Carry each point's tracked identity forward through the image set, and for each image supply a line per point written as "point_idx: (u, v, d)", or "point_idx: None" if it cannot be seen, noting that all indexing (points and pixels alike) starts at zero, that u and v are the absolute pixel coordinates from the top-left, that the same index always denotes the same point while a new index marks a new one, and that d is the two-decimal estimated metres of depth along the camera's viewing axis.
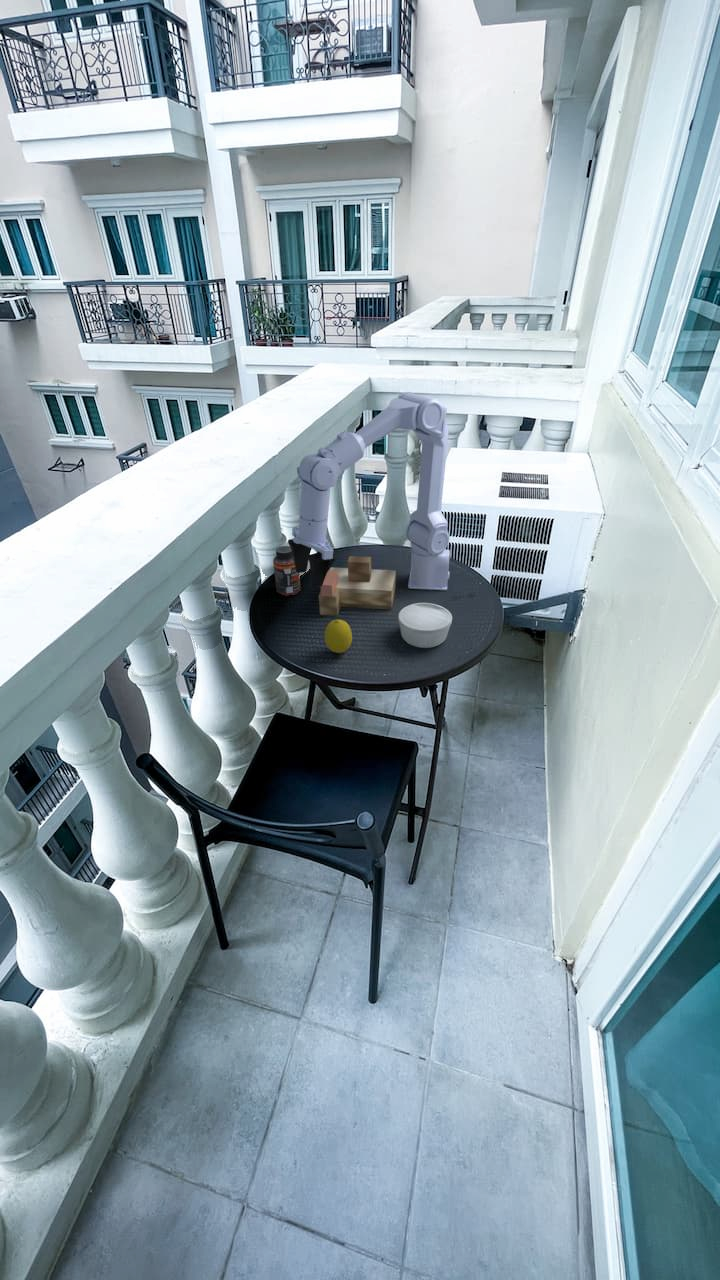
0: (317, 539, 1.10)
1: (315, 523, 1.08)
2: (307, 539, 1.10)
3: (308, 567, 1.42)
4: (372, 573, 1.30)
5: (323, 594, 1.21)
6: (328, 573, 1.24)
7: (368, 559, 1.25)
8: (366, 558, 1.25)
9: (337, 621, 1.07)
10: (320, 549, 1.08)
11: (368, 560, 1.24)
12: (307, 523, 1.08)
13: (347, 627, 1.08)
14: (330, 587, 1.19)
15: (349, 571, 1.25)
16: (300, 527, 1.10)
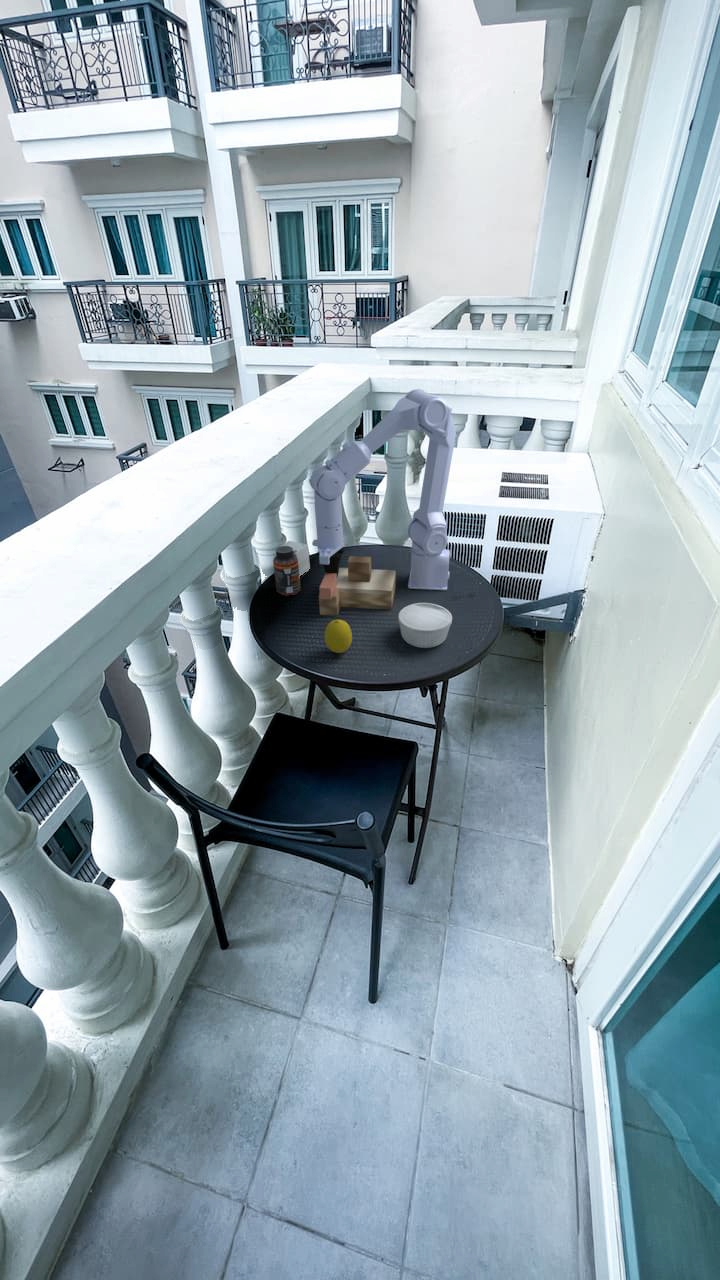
0: (326, 544, 1.18)
1: (322, 529, 1.16)
2: (319, 542, 1.19)
3: (308, 567, 1.42)
4: (372, 573, 1.30)
5: (322, 597, 1.20)
6: (327, 576, 1.23)
7: (368, 559, 1.25)
8: (366, 558, 1.25)
9: (337, 621, 1.07)
10: (319, 554, 1.16)
11: (368, 560, 1.24)
12: (317, 528, 1.18)
13: (347, 627, 1.08)
14: (329, 590, 1.18)
15: (349, 571, 1.25)
16: None
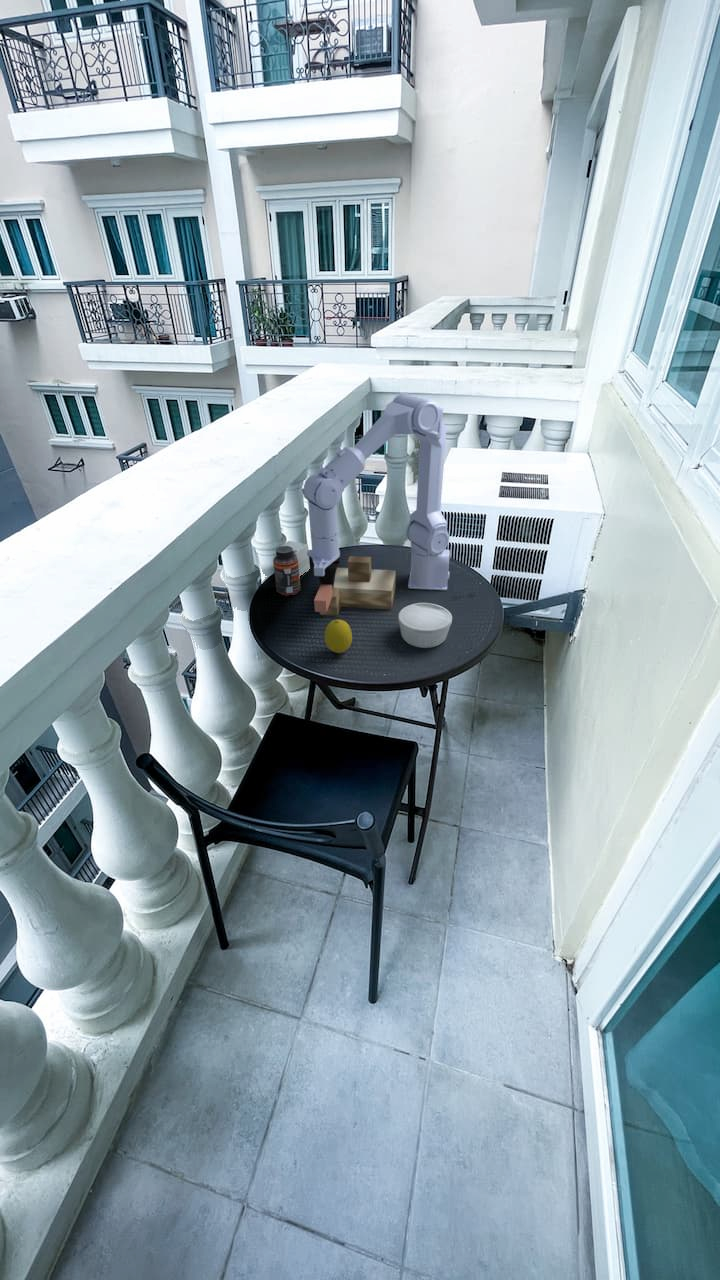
0: (321, 555, 1.14)
1: (317, 540, 1.12)
2: (313, 553, 1.15)
3: (308, 567, 1.42)
4: (372, 573, 1.30)
5: (317, 610, 1.15)
6: (322, 587, 1.18)
7: (368, 559, 1.25)
8: (366, 558, 1.25)
9: (337, 621, 1.07)
10: (314, 565, 1.12)
11: (368, 560, 1.24)
12: (312, 539, 1.13)
13: (347, 627, 1.08)
14: (324, 602, 1.14)
15: (349, 571, 1.25)
16: None
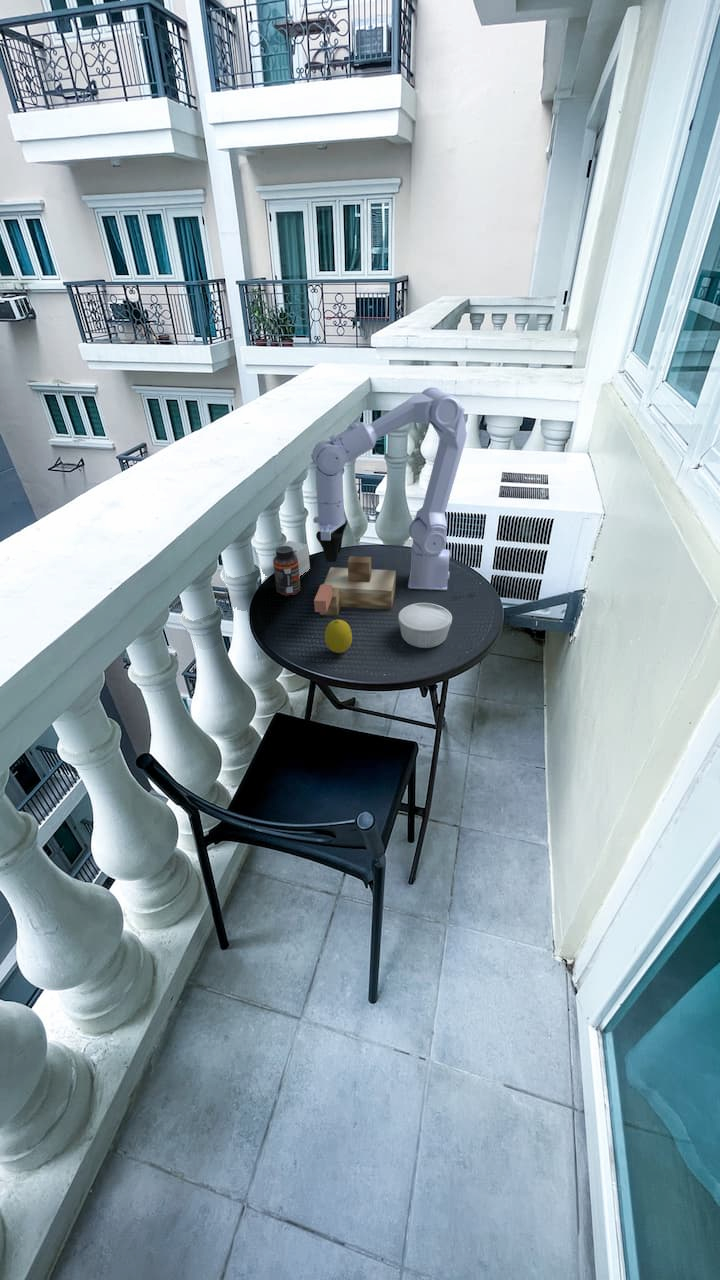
0: (327, 520, 1.18)
1: (323, 505, 1.16)
2: (320, 519, 1.19)
3: (308, 567, 1.42)
4: (372, 573, 1.30)
5: (317, 610, 1.15)
6: (322, 587, 1.18)
7: (368, 559, 1.25)
8: (366, 558, 1.25)
9: (337, 621, 1.07)
10: (321, 530, 1.16)
11: (368, 560, 1.24)
12: (318, 504, 1.17)
13: (347, 627, 1.08)
14: (324, 603, 1.14)
15: (349, 571, 1.25)
16: None
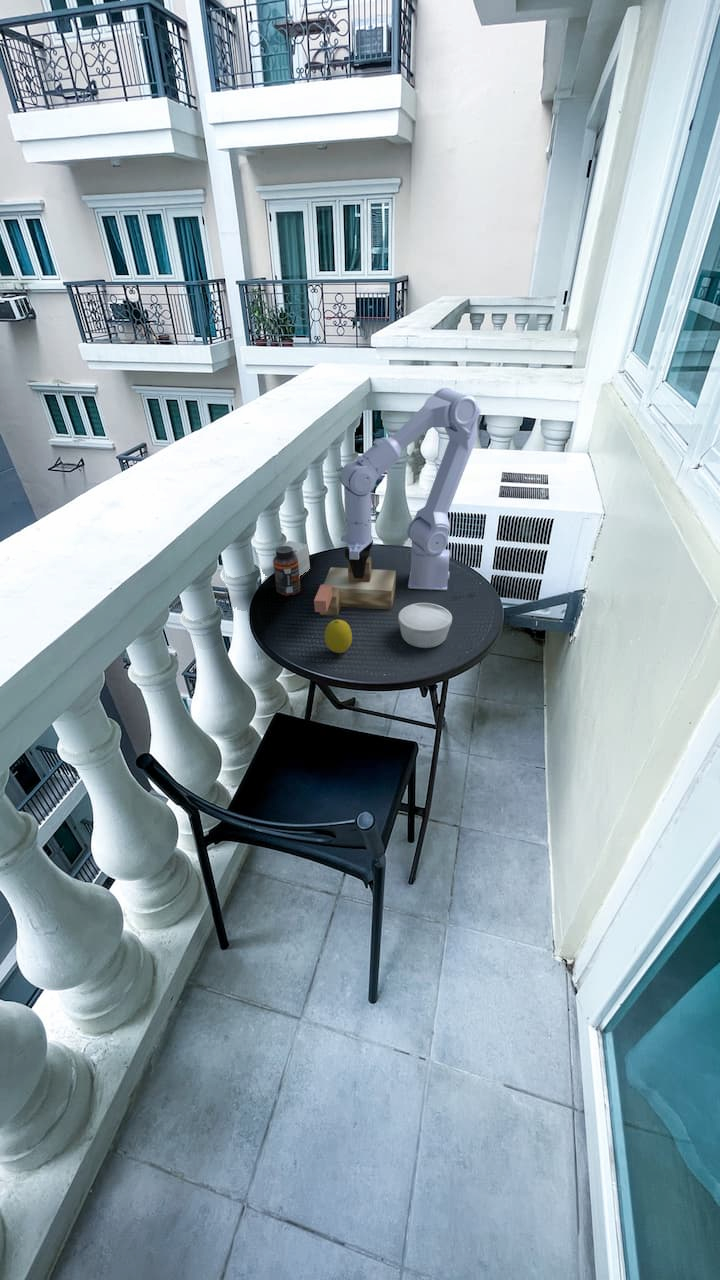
0: (355, 539, 1.19)
1: (352, 525, 1.18)
2: (348, 538, 1.20)
3: (308, 567, 1.42)
4: (372, 573, 1.30)
5: (317, 610, 1.15)
6: (322, 587, 1.18)
7: (368, 559, 1.25)
8: None
9: (337, 621, 1.07)
10: (349, 549, 1.18)
11: (368, 560, 1.24)
12: (347, 524, 1.19)
13: (347, 627, 1.08)
14: (324, 603, 1.14)
15: (349, 571, 1.25)
16: None
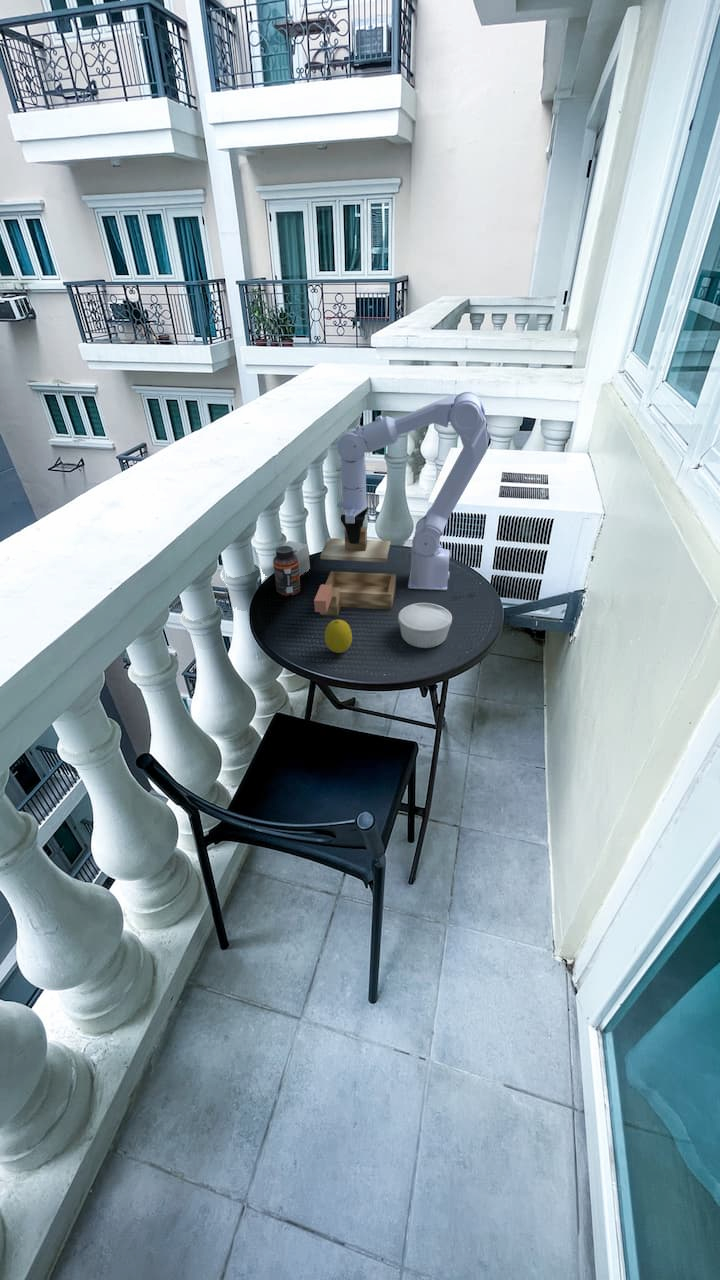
0: (351, 505, 1.25)
1: (347, 490, 1.23)
2: (344, 504, 1.26)
3: (308, 567, 1.42)
4: (368, 543, 1.36)
5: (317, 610, 1.15)
6: (322, 587, 1.18)
7: (364, 529, 1.31)
8: (362, 528, 1.31)
9: (337, 621, 1.07)
10: (345, 513, 1.23)
11: (364, 529, 1.31)
12: (342, 490, 1.24)
13: (347, 627, 1.08)
14: (324, 603, 1.14)
15: (346, 540, 1.32)
16: None
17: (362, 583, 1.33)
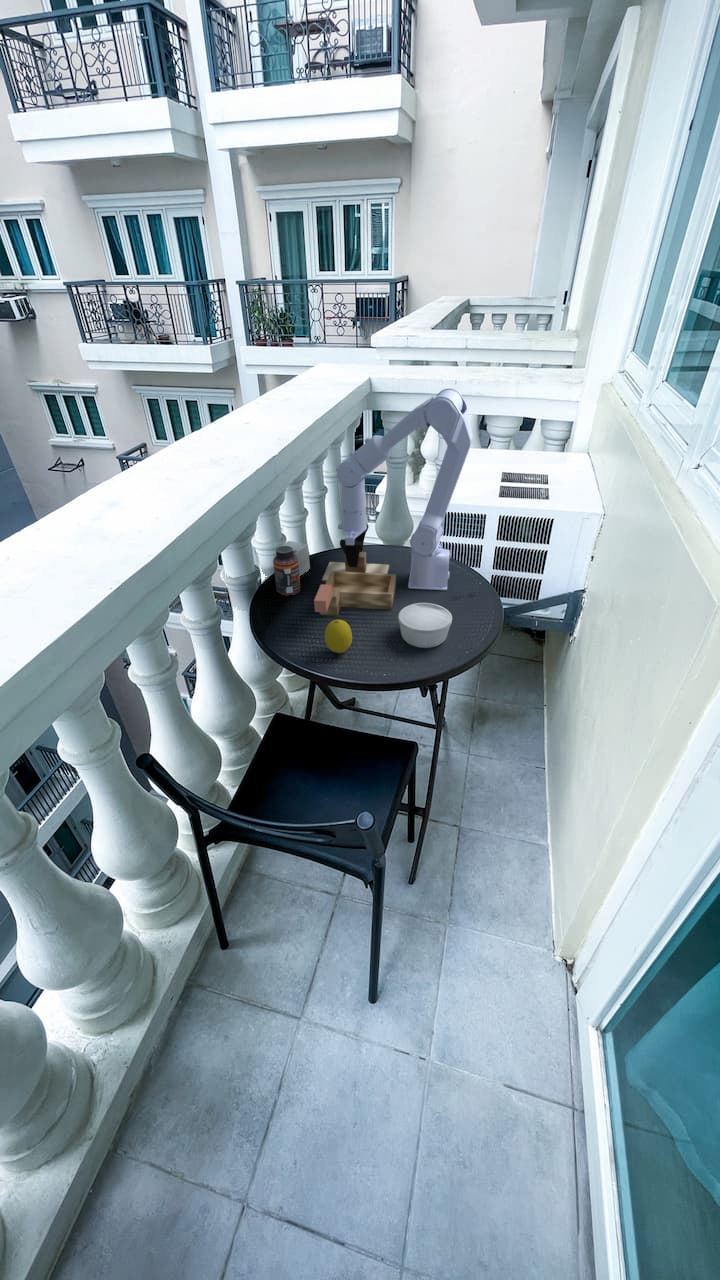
0: (351, 527, 1.31)
1: (347, 514, 1.29)
2: (344, 526, 1.32)
3: (308, 567, 1.42)
4: (367, 567, 1.43)
5: (317, 610, 1.15)
6: (322, 587, 1.18)
7: (363, 554, 1.38)
8: (361, 553, 1.38)
9: (337, 621, 1.07)
10: (345, 536, 1.29)
11: (363, 555, 1.37)
12: (343, 513, 1.30)
13: (347, 627, 1.08)
14: (324, 603, 1.14)
15: (346, 565, 1.38)
16: None
17: (362, 583, 1.33)
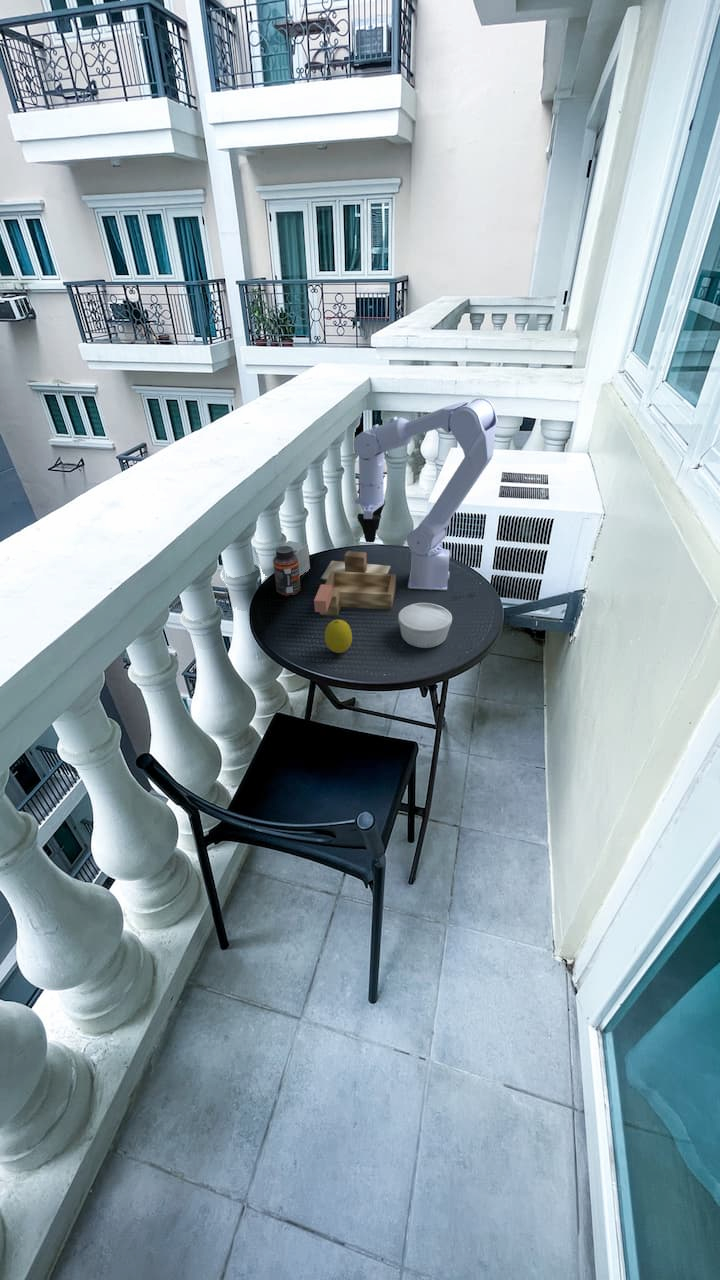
0: (368, 501, 1.30)
1: (365, 487, 1.28)
2: (362, 500, 1.31)
3: (308, 567, 1.42)
4: (368, 567, 1.42)
5: (317, 610, 1.15)
6: (322, 587, 1.18)
7: (363, 554, 1.37)
8: (362, 553, 1.38)
9: (337, 621, 1.07)
10: (363, 509, 1.28)
11: (363, 555, 1.37)
12: (361, 486, 1.29)
13: (347, 627, 1.08)
14: (324, 603, 1.14)
15: (346, 564, 1.38)
16: None
17: (362, 583, 1.33)
